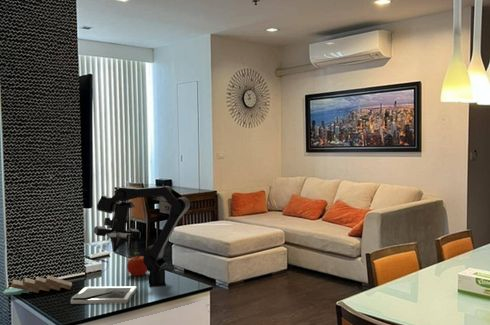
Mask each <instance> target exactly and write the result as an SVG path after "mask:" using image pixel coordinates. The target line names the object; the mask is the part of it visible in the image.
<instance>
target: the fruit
mask: <svg viewBox="0 0 490 325" xmlns="http://www.w3.org/2000/svg"><path fill="white" fill-rule="evenodd" d="M133 254H134V255H135V256H132V257H130V258H129V259H128V260H127V264H126V267H127V271H128V273H129V274H130V275H131V276H134V277H140V276H144V275H146V273H147V272H148V270H147V267H146V265H145V264H144V262H143V258H144V256H143V255H142V256H140V255H141V252H139V251H136V252H133Z"/></svg>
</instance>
